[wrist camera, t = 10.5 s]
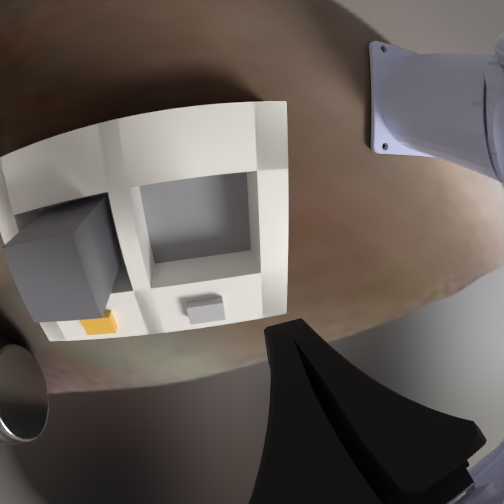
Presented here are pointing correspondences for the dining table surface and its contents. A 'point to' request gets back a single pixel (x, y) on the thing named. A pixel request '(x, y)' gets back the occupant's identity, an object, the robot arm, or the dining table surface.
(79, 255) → the plug
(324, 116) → the dining table surface
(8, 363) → the muzzle brake
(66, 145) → the double socket
